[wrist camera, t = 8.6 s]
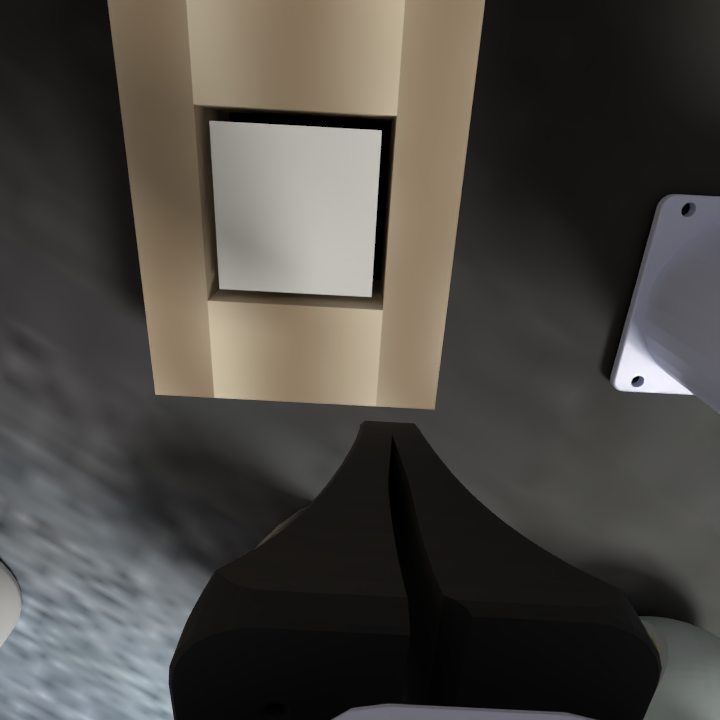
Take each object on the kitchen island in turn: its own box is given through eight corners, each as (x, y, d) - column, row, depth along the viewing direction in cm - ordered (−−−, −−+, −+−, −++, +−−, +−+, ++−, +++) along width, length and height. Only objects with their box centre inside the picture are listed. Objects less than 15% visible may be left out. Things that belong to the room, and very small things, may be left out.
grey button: (379, 132, 17) (382, 130, 15) (371, 275, 19) (371, 297, 17) (234, 124, 17) (209, 120, 15) (240, 268, 19) (219, 289, 17)
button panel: (515, -469, 13) (574, -720, 9) (423, 364, 22) (434, 409, 18) (118, -494, 13) (15, -756, 9) (191, 352, 22) (155, 394, 18)
